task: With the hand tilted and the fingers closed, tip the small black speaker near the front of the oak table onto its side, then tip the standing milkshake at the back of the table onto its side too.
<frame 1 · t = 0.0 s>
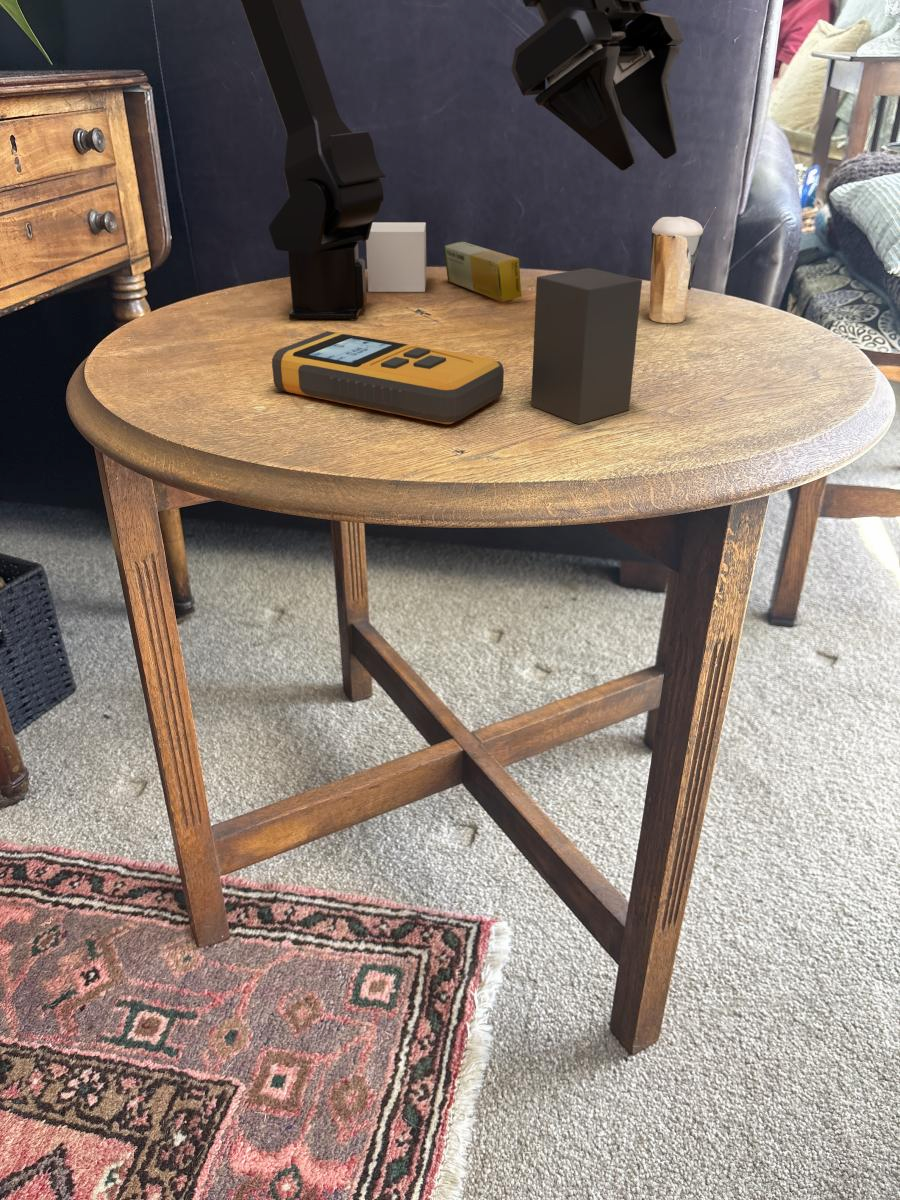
hand: (651, 161, 70), 15 cm above the table, tool tilted 35°, fingers open, 9 cm apart
black speaker: (579, 407, 67), on the table
medication box: (481, 294, 99), on the table
milkshake: (670, 321, 89), on the table
white cube: (398, 287, 102), on the table
electronic device: (389, 398, 70), on the table
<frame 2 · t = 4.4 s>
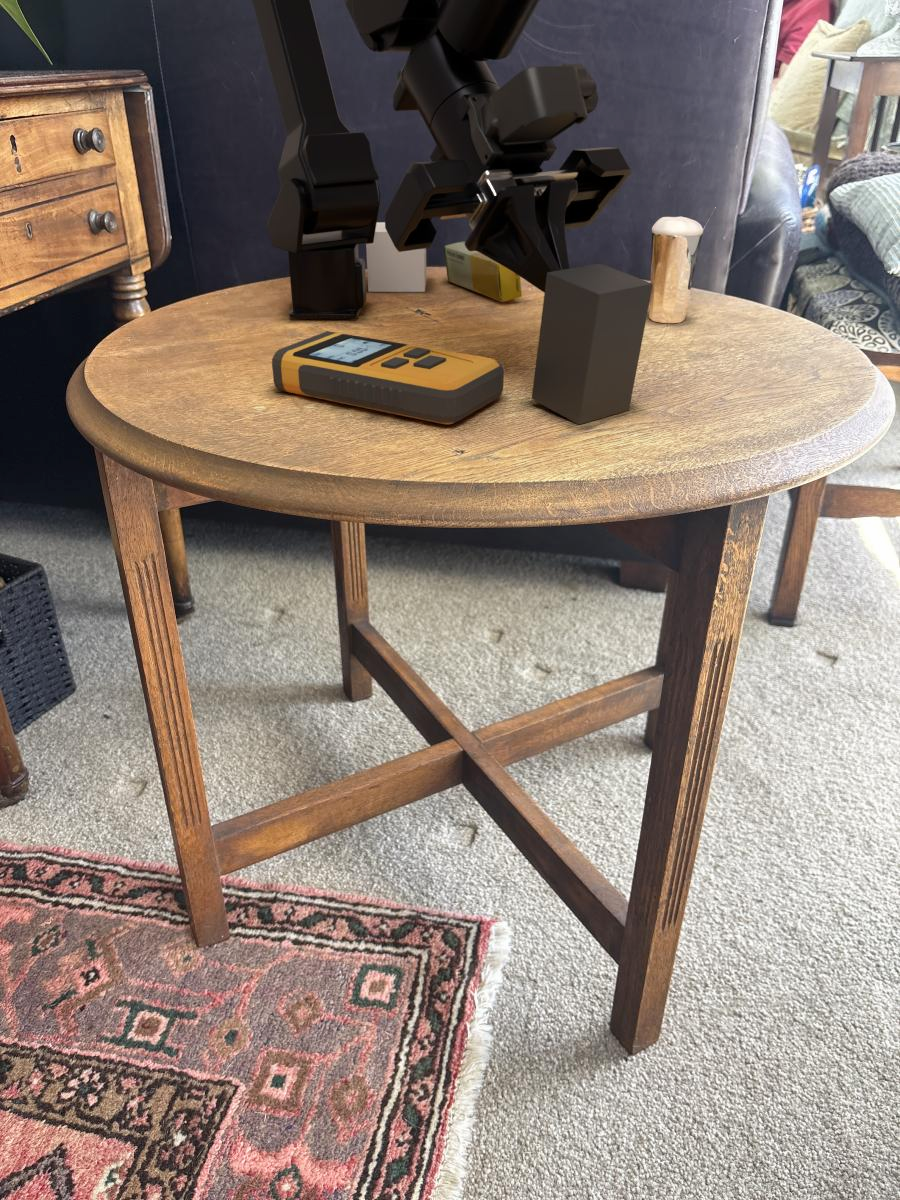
hand: (565, 296, 65), 7 cm above the table, tool tilted 45°, fingers closed, pressing on black speaker
black speaker: (580, 404, 67), on the table, tilted 6°, touching gripper
everything else where it was.
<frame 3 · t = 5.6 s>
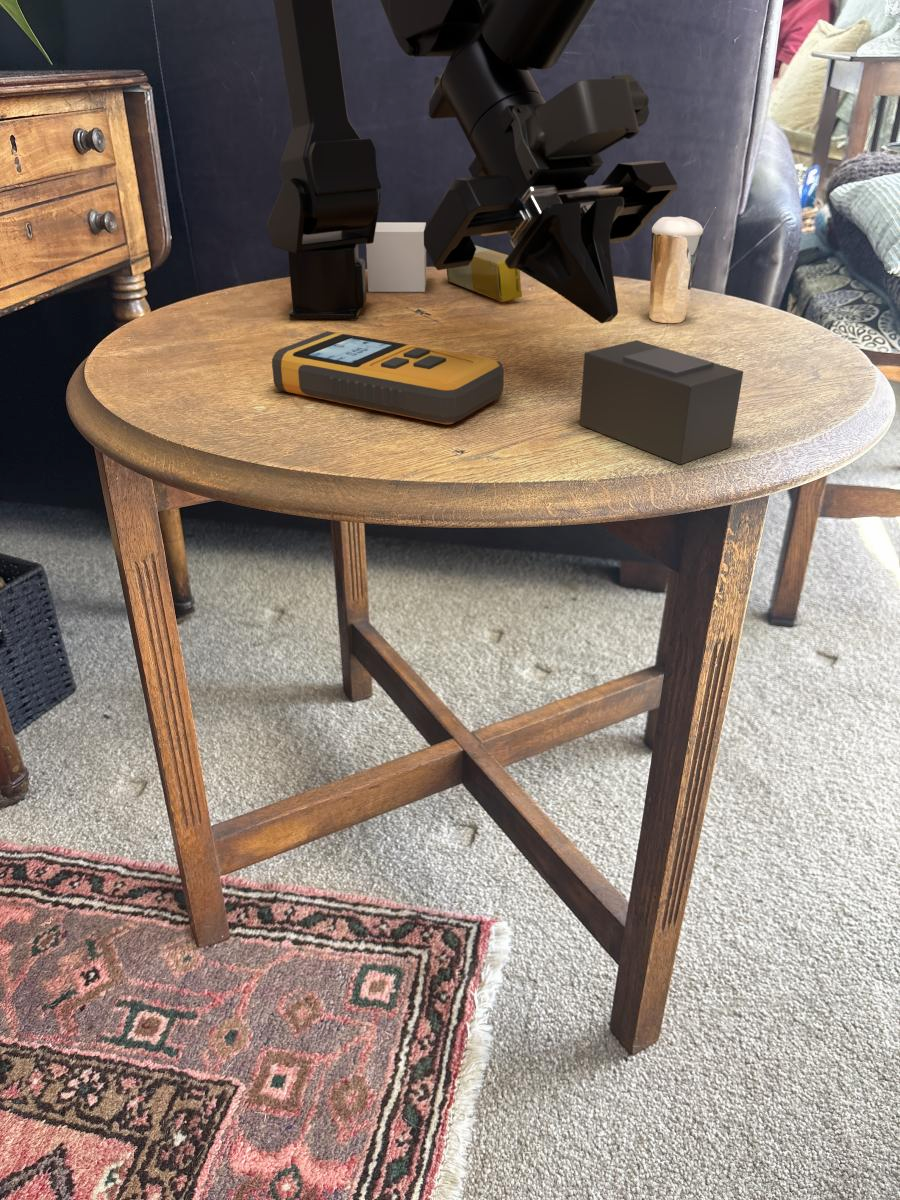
hand: (610, 318, 62), 7 cm above the table, tool tilted 45°, fingers closed
black speaker: (607, 382, 64), point 3 cm above the table, tilted 90°
everything else where it was.
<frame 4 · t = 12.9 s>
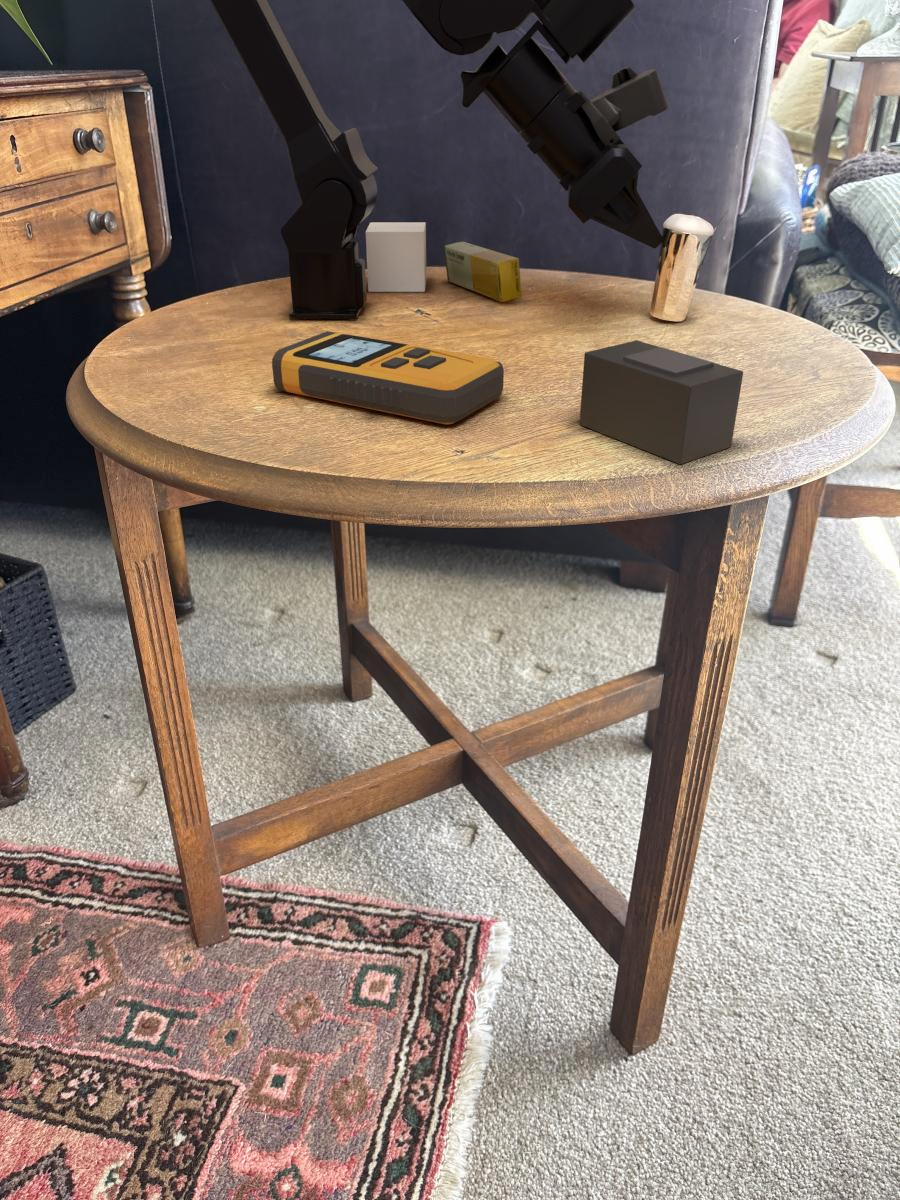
hand: (659, 244, 86), 7 cm above the table, tool tilted 45°, fingers closed
milkshake: (670, 320, 89), on the table, touching gripper
everything else where it was.
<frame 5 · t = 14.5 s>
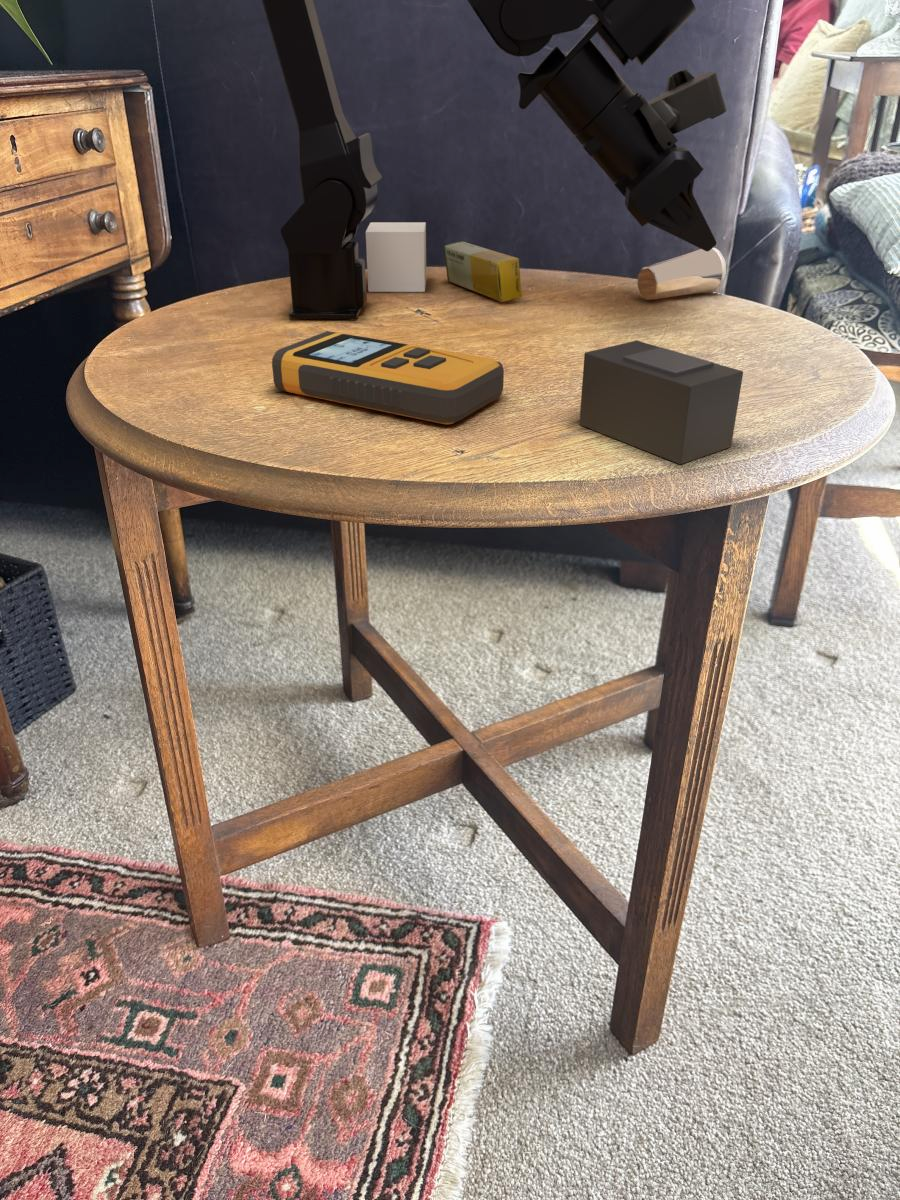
hand: (711, 247, 85), 7 cm above the table, tool tilted 45°, fingers closed
milkshake: (642, 284, 95), point 2 cm above the table
everything else where it was.
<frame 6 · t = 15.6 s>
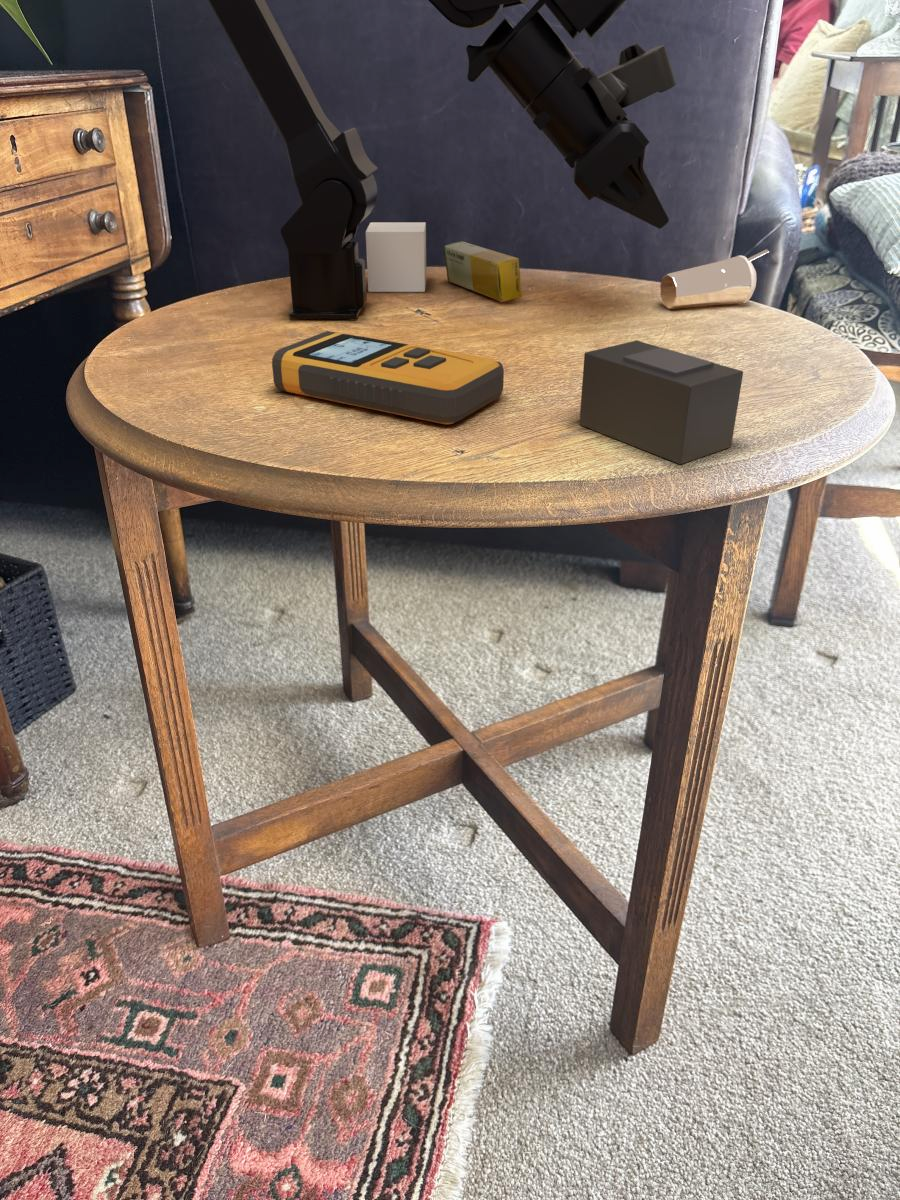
hand: (664, 224, 85), 8 cm above the table, tool tilted 45°, fingers closed
milkshake: (667, 288, 91), point 2 cm above the table
everything else where it was.
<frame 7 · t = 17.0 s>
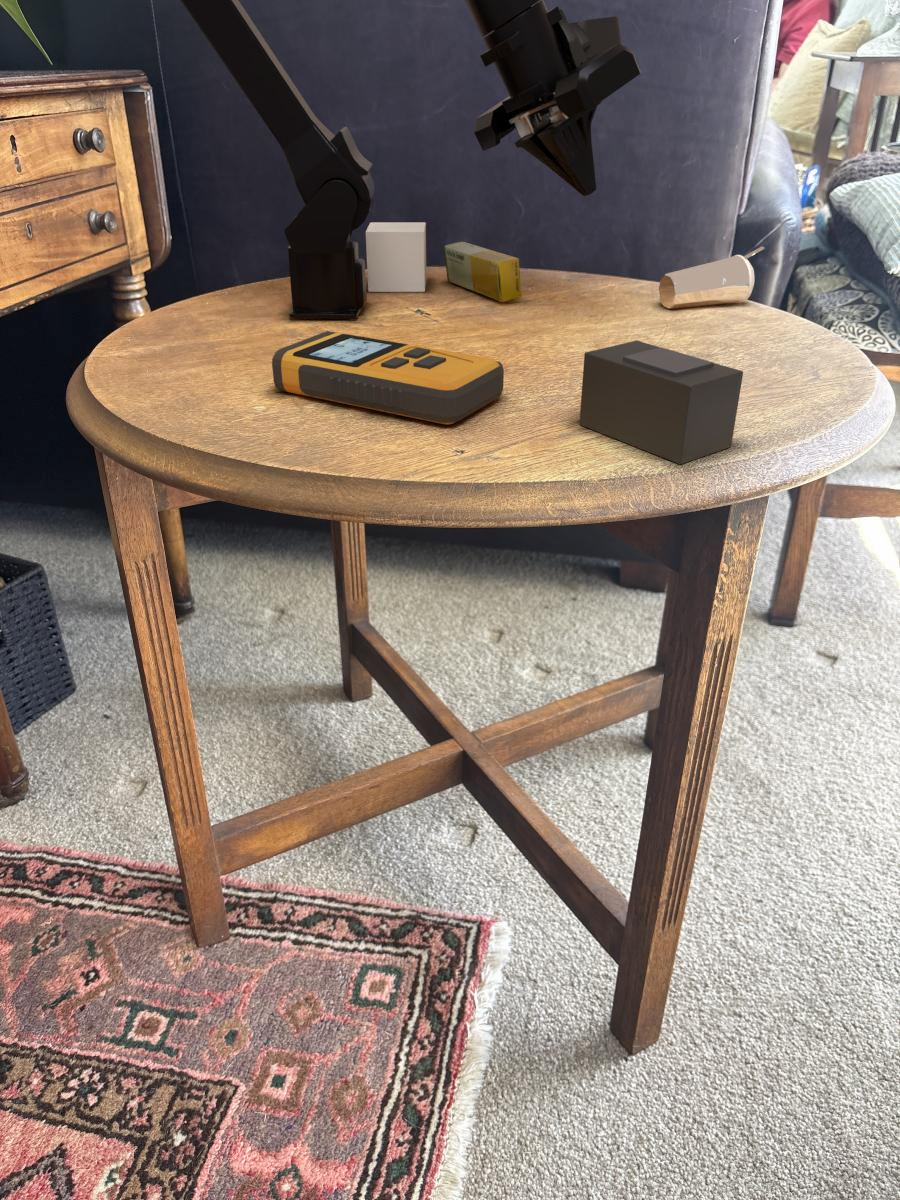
hand: (590, 193, 86), 11 cm above the table, tool tilted 30°, fingers closed
nothing on the table moved.
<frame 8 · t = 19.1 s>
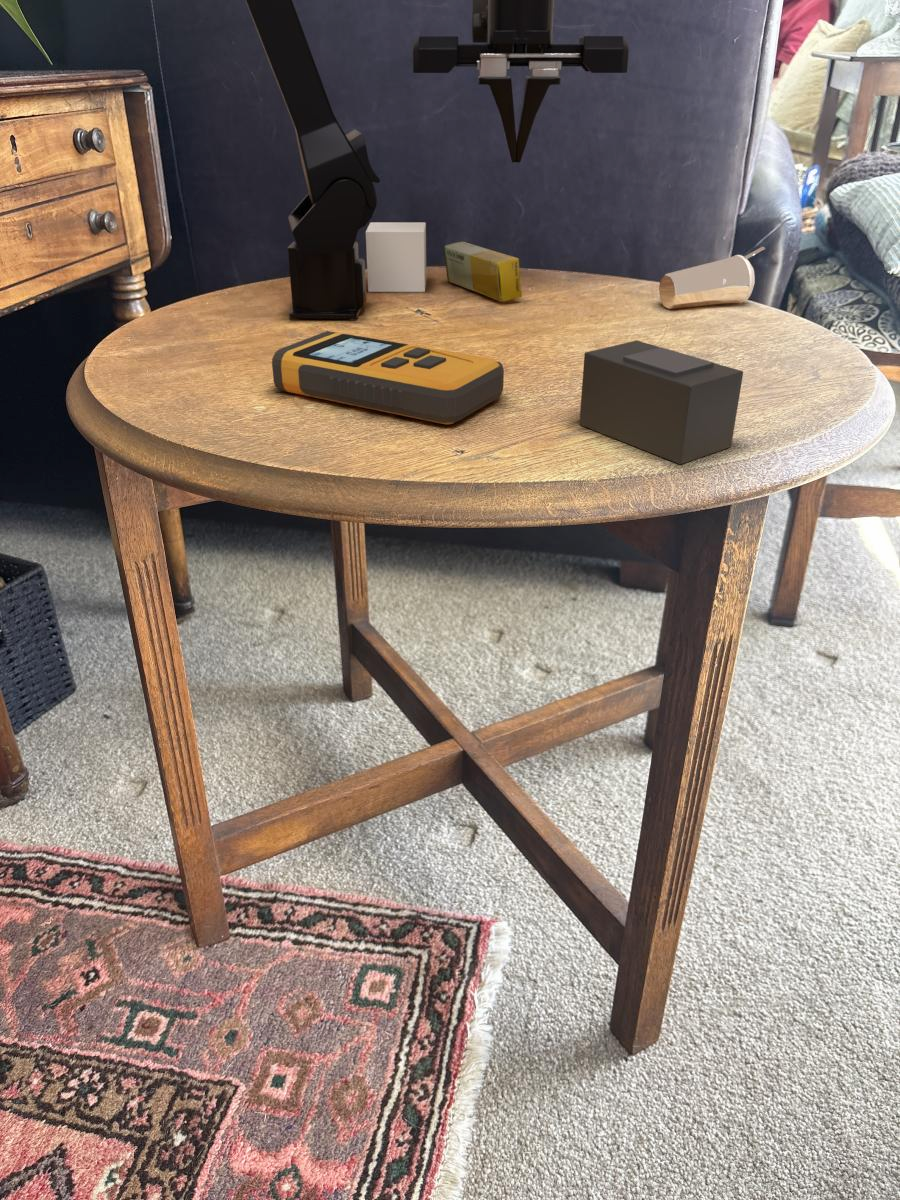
hand: (515, 162, 88), 13 cm above the table, tool pointing down, fingers closed
nothing on the table moved.
at the end: black speaker tilted 90°; milkshake tilted 85°; milkshake inside the target area (6.5 cm from its centre), point 2.0 cm above the table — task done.
